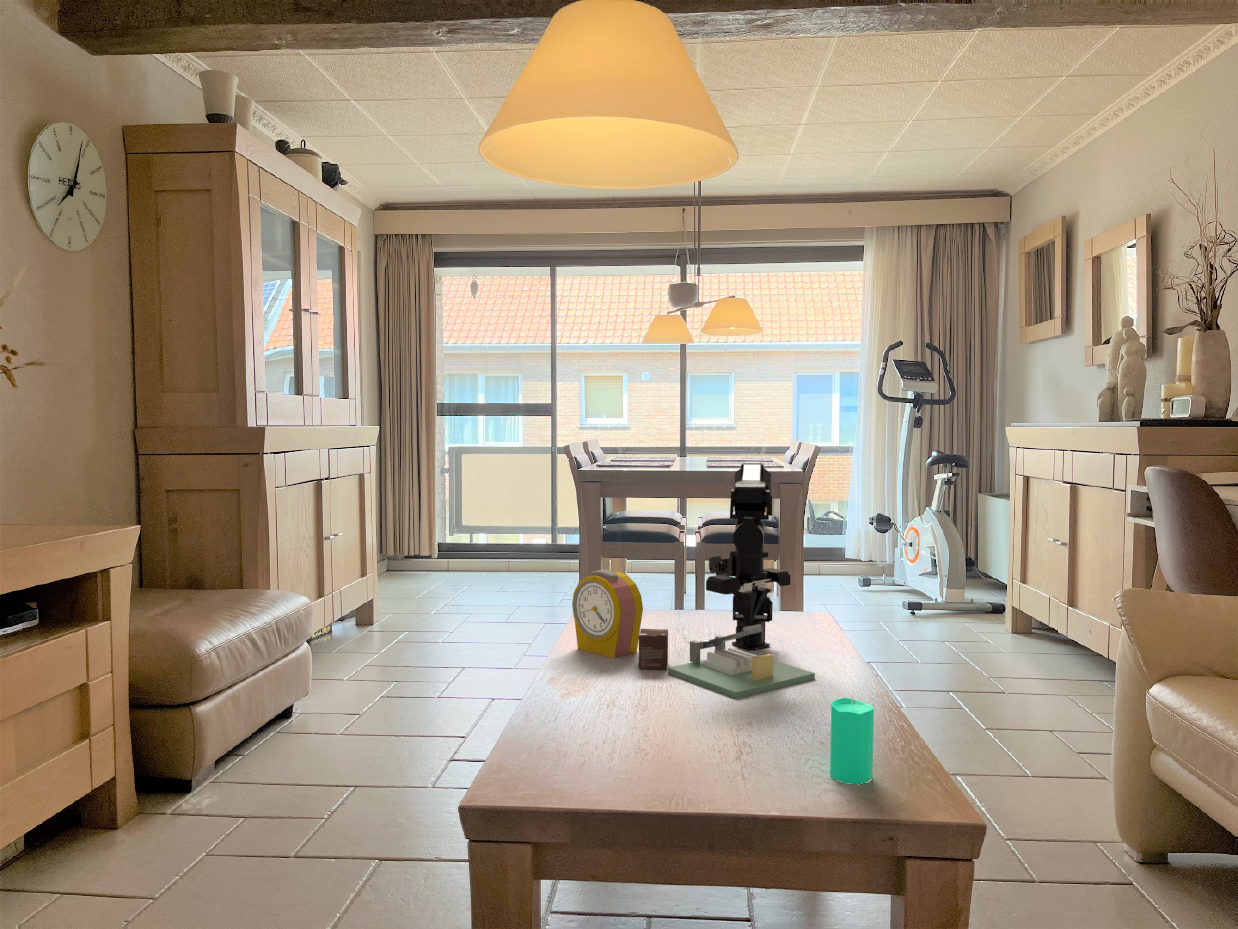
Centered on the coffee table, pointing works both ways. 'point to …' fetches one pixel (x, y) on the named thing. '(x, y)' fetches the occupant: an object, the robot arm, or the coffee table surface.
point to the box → (653, 649)
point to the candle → (851, 741)
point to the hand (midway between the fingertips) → (748, 623)
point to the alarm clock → (607, 613)
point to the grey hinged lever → (731, 636)
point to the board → (738, 671)
